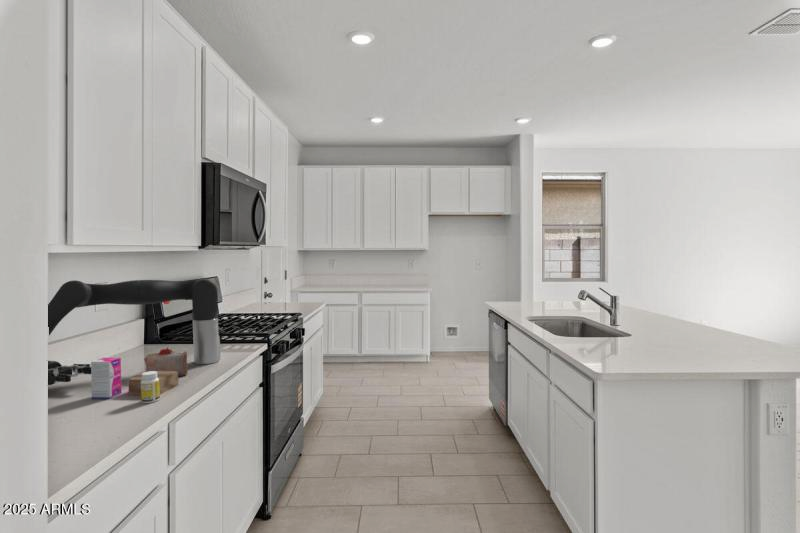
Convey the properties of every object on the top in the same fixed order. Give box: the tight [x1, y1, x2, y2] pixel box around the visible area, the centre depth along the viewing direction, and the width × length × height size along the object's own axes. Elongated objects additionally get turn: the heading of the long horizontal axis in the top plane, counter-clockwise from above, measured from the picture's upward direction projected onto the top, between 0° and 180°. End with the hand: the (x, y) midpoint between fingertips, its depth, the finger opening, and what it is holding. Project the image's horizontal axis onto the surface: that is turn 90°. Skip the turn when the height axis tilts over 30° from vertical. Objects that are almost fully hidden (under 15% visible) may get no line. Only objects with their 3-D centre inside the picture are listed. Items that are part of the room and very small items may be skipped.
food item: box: [143, 346, 188, 377], centre depth 160 cm, size 14×8×10 cm, turn 108°
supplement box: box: [90, 357, 122, 400], centre depth 138 cm, size 6×6×12 cm
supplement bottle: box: [140, 371, 161, 404], centre depth 133 cm, size 5×5×8 cm
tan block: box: [127, 371, 179, 396], centre depth 144 cm, size 10×10×5 cm
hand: (82, 374), depth 140 cm, fingers open, 8 cm apart
